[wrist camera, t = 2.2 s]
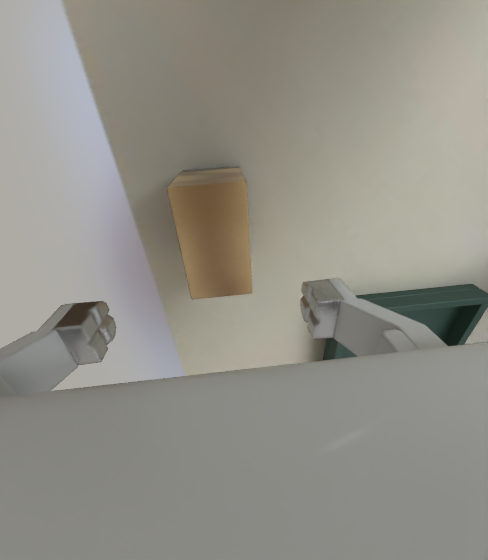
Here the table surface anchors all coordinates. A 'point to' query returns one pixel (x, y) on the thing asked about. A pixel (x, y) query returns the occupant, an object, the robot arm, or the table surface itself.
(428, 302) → the tray
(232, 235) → the tan brown block
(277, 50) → the table surface
